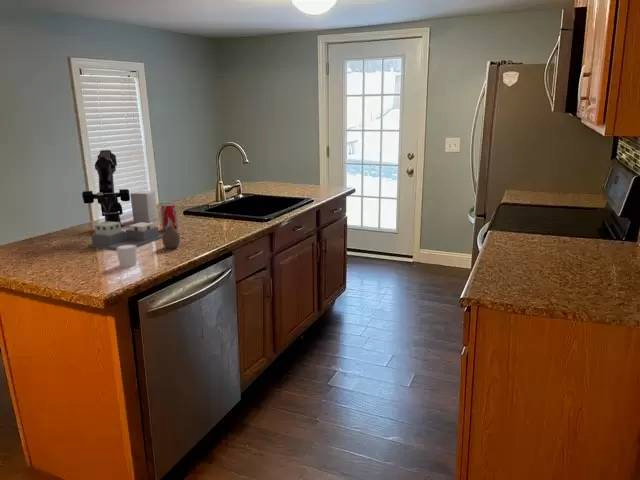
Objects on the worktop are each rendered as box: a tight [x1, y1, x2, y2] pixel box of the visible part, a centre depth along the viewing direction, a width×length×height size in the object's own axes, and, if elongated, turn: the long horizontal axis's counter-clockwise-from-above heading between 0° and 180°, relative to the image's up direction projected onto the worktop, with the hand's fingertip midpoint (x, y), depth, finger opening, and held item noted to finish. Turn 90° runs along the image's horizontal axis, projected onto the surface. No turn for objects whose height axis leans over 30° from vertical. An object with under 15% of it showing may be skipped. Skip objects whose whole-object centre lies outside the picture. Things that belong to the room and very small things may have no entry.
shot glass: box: [116, 245, 138, 268], centre depth 179 cm, size 7×7×7 cm
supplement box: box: [129, 190, 158, 223], centre depth 250 cm, size 9×9×15 cm
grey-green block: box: [94, 221, 122, 236], centre depth 206 cm, size 7×7×6 cm
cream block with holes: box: [128, 222, 155, 231], centre depth 214 cm, size 7×7×6 cm
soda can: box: [160, 202, 179, 231], centre depth 232 cm, size 7×7×12 cm
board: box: [87, 226, 163, 251], centre depth 211 cm, size 20×23×5 cm
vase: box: [161, 226, 181, 250], centre depth 201 cm, size 7×7×9 cm
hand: (107, 212), depth 211 cm, fingers closed
